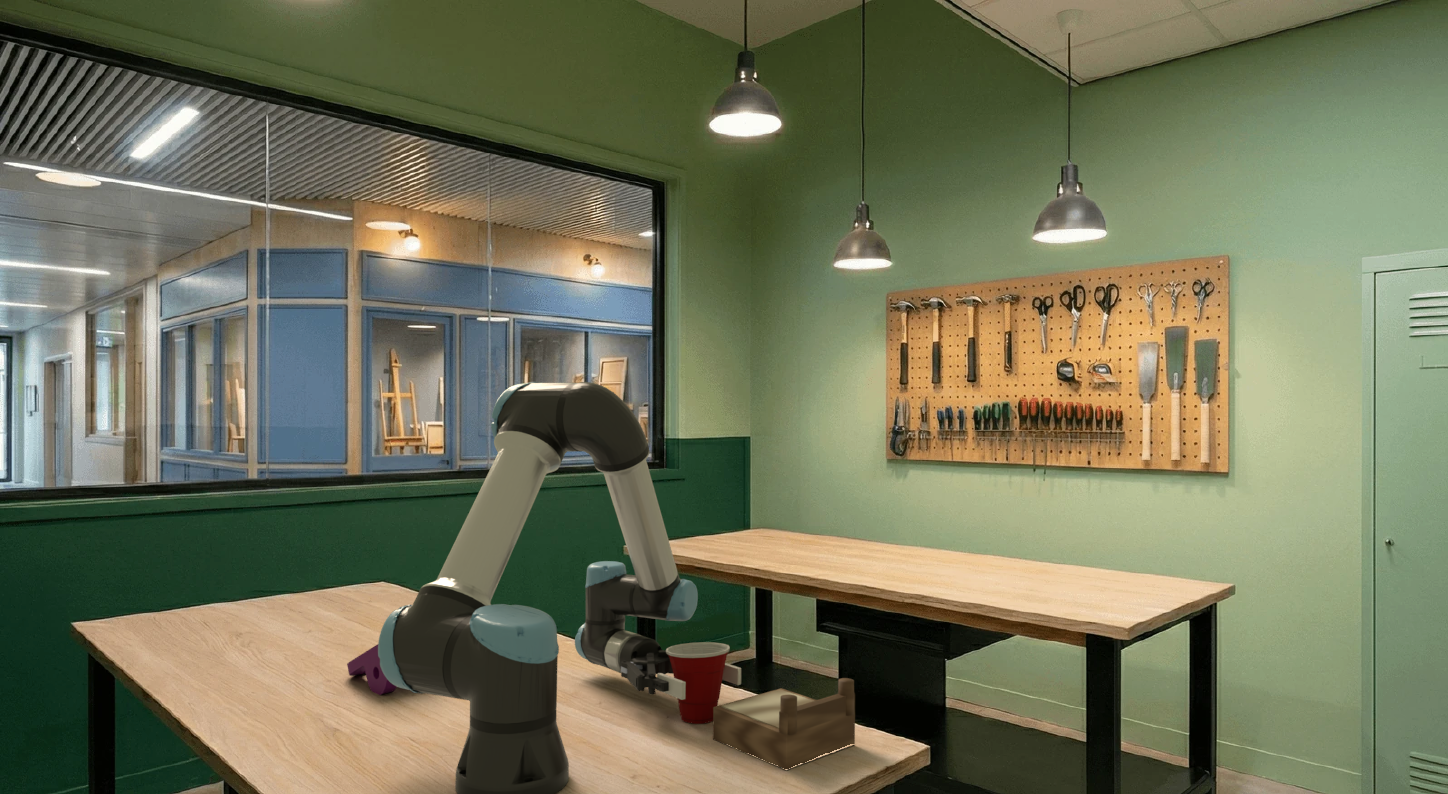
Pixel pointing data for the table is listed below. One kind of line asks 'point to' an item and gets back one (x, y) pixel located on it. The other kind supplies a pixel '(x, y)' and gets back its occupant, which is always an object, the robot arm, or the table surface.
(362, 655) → the mounting bracket
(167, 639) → the table surface
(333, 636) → the table surface
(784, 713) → the walnut stand
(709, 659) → the plastic cup
